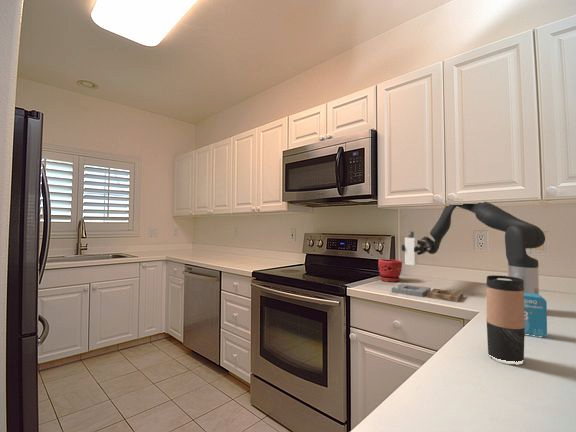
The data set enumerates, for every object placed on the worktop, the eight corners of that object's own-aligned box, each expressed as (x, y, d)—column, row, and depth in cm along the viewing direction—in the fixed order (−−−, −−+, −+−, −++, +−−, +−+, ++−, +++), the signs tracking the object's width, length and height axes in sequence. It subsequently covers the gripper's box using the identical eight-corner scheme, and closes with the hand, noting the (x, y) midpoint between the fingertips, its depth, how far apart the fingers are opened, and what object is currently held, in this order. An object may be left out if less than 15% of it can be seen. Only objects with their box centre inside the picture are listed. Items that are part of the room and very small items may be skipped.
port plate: (430, 291, 145) (430, 286, 145) (422, 297, 134) (422, 291, 134) (401, 287, 154) (401, 282, 154) (391, 292, 143) (391, 286, 143)
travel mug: (526, 358, 74) (525, 277, 74) (524, 369, 68) (523, 282, 68) (489, 349, 79) (488, 274, 79) (484, 359, 73) (483, 278, 73)
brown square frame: (462, 296, 135) (462, 292, 135) (457, 302, 126) (457, 297, 126) (434, 292, 143) (434, 288, 143) (427, 297, 134) (427, 292, 134)
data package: (497, 331, 92) (496, 292, 92) (495, 326, 96) (495, 289, 96) (547, 339, 86) (546, 297, 86) (543, 333, 90) (542, 294, 90)
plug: (417, 264, 145) (417, 231, 145) (414, 265, 141) (414, 231, 142) (408, 263, 148) (407, 231, 148) (404, 264, 144) (404, 231, 144)
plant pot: (397, 283, 164) (397, 262, 164) (374, 280, 172) (374, 260, 172) (405, 280, 174) (405, 259, 174) (383, 277, 182) (383, 258, 183)
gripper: (406, 239, 160) (394, 240, 147) (434, 240, 151) (424, 242, 138) (406, 253, 160) (394, 255, 147) (434, 255, 151) (424, 258, 138)
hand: (409, 249), depth 142 cm, fingers closed on plug, 4 cm apart
